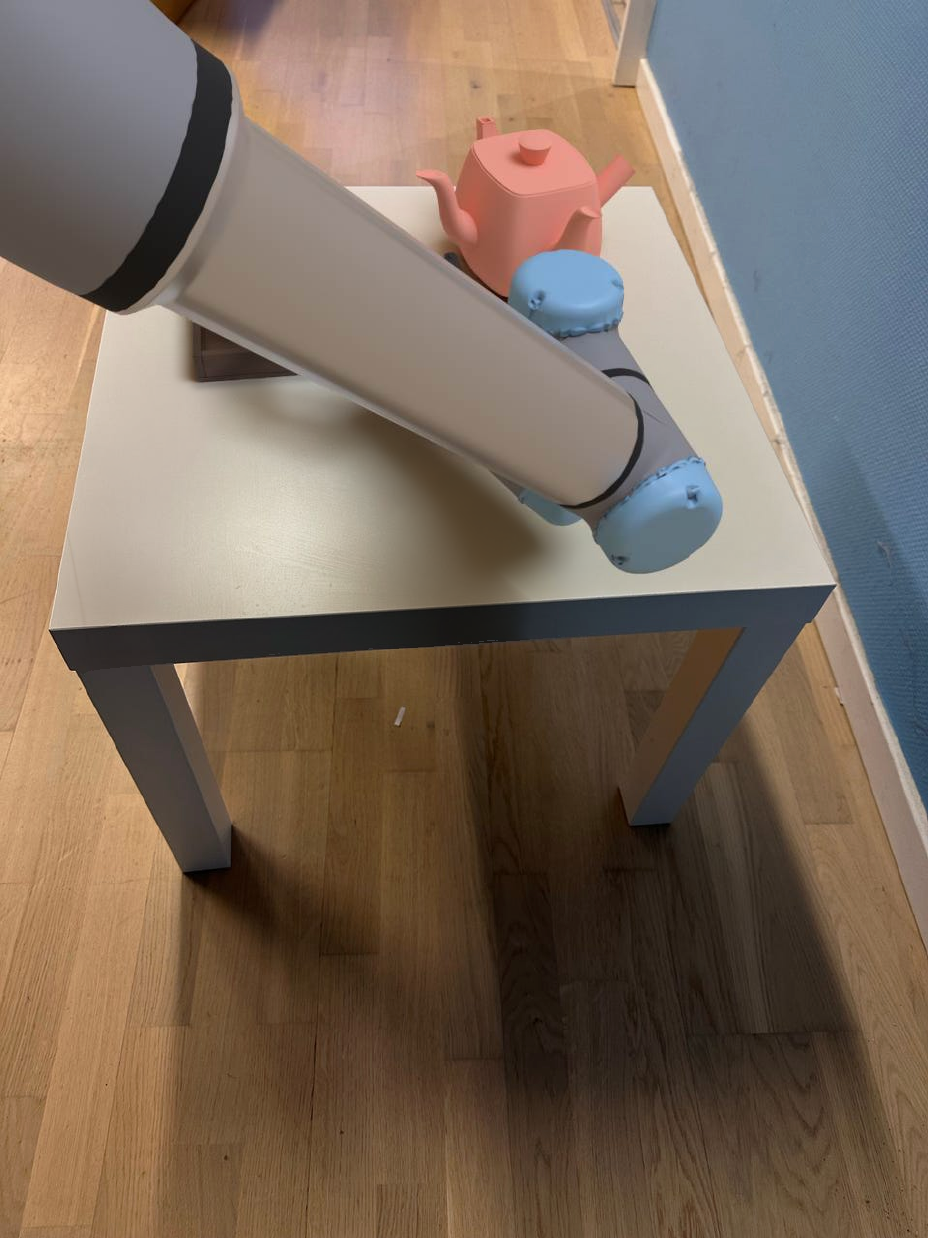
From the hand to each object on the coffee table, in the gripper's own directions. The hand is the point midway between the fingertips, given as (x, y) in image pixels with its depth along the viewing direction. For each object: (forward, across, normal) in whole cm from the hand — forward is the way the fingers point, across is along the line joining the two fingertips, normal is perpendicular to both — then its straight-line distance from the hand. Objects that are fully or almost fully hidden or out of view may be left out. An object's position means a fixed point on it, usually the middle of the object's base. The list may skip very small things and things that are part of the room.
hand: (316, 261), depth 83 cm
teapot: (-3, +24, -9) cm, 26 cm away
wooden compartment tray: (+5, -2, -8) cm, 10 cm away
